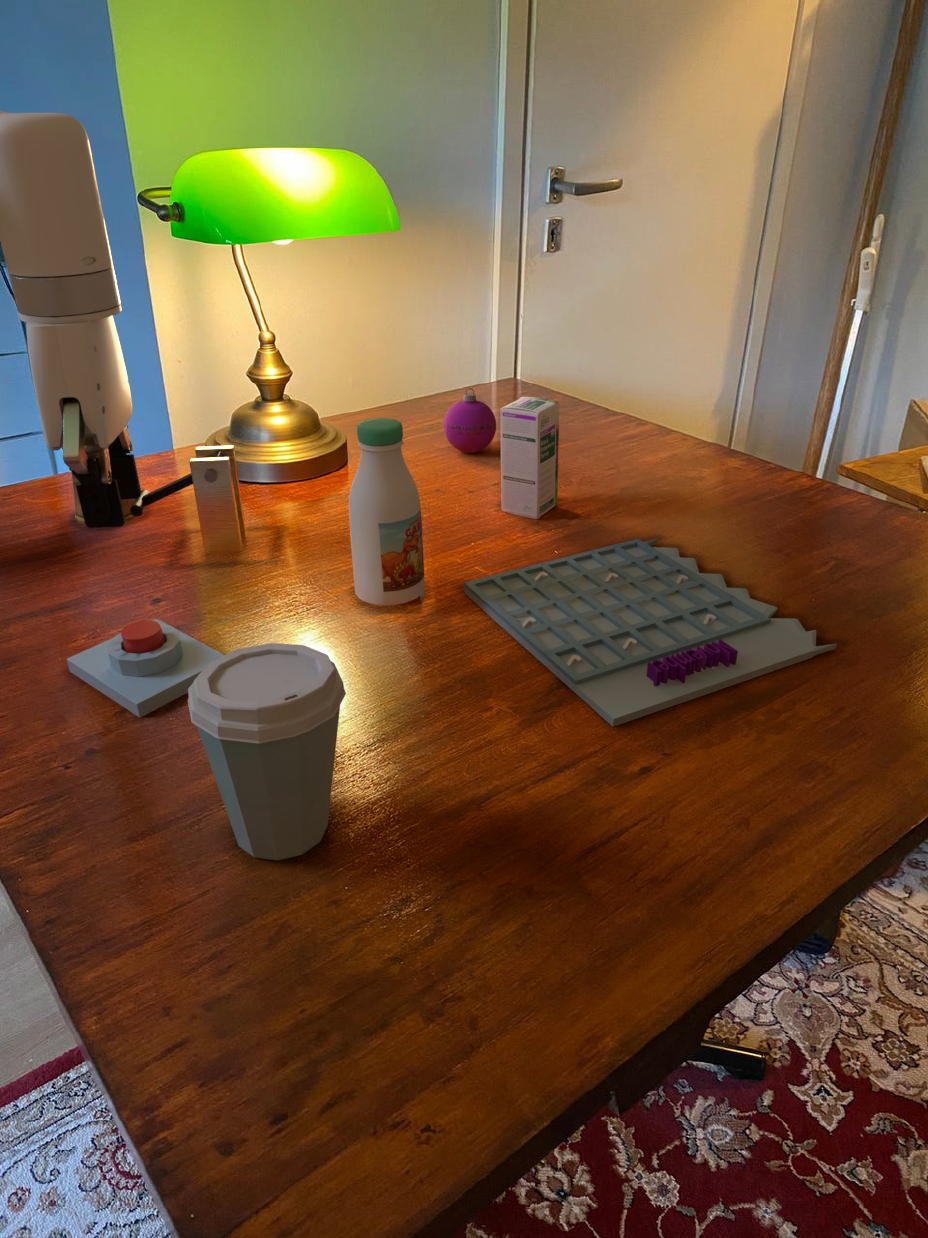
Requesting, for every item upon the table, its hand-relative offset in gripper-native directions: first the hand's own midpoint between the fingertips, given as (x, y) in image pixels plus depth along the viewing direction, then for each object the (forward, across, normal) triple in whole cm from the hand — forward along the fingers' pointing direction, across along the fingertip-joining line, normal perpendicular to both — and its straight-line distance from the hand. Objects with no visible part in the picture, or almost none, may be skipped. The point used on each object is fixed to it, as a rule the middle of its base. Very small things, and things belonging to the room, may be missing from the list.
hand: (114, 509), depth 79 cm
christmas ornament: (+18, -61, +37) cm, 73 cm away
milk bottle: (+18, -13, +23) cm, 32 cm away
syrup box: (+18, -37, +42) cm, 59 cm away
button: (+14, 0, 0) cm, 14 cm away
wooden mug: (+18, -42, -13) cm, 47 cm away
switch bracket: (+17, -28, +4) cm, 33 cm away
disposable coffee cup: (+18, +23, +15) cm, 33 cm away
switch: (+9, -28, 0) cm, 29 cm away
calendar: (+18, -6, +50) cm, 53 cm away
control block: (+17, 0, 0) cm, 17 cm away
